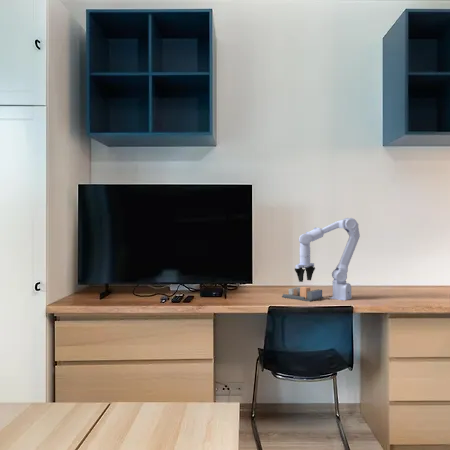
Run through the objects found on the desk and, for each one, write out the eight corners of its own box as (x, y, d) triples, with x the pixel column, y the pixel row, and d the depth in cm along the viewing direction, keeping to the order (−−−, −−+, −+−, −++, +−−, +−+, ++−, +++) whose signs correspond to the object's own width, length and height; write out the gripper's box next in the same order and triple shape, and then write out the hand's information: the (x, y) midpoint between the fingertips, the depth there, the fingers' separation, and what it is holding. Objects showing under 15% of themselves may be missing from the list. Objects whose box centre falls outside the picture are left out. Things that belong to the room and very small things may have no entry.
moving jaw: (303, 294, 243) (303, 287, 243) (293, 296, 236) (292, 289, 236) (299, 293, 245) (299, 286, 245) (288, 296, 238) (288, 288, 238)
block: (310, 296, 237) (310, 287, 237) (306, 297, 234) (306, 288, 234) (304, 295, 239) (304, 286, 239) (299, 296, 237) (299, 287, 237)
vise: (323, 298, 236) (323, 289, 236) (310, 301, 227) (309, 292, 227) (295, 294, 249) (295, 286, 249) (281, 297, 240) (281, 288, 240)
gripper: (306, 254, 244) (306, 278, 244) (290, 256, 234) (290, 281, 234) (317, 255, 239) (317, 280, 239) (301, 257, 229) (301, 282, 229)
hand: (305, 280), depth 237 cm, fingers open, 7 cm apart
